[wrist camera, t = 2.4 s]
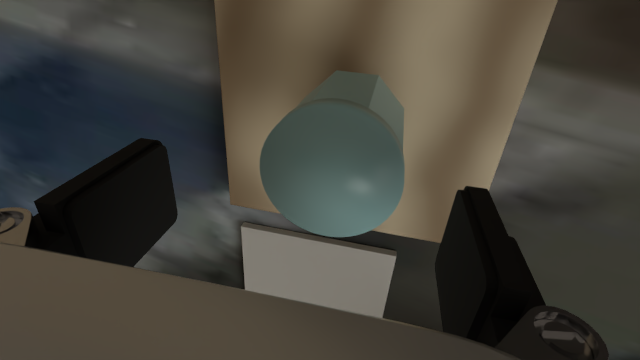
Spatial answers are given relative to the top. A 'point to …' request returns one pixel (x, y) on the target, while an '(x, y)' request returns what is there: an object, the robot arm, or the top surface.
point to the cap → (338, 157)
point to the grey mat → (316, 269)
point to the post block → (397, 73)
